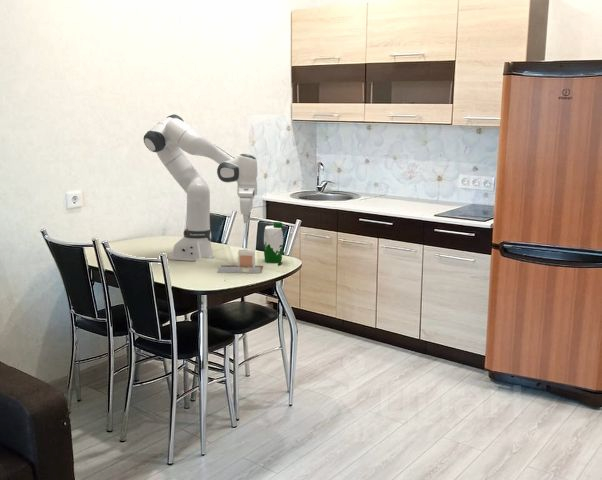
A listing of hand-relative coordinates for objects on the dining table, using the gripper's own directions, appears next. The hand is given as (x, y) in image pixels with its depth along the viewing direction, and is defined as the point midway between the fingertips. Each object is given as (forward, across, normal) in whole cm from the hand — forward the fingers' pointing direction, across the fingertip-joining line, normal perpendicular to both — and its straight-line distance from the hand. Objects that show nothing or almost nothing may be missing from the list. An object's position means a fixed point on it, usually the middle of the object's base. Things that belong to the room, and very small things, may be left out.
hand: (246, 221), depth 287 cm
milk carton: (+23, -16, +12) cm, 31 cm away
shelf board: (+23, +1, -2) cm, 24 cm away
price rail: (+22, +7, -2) cm, 24 cm away
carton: (+22, +3, +1) cm, 22 cm away
